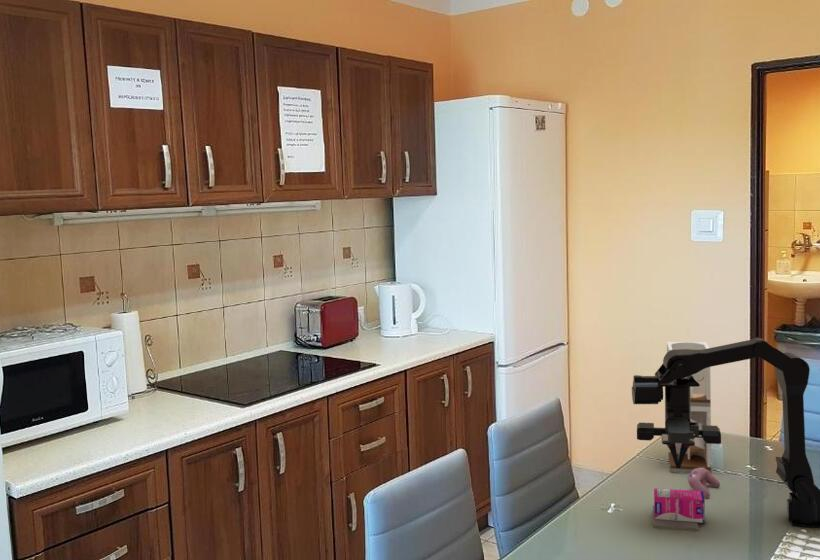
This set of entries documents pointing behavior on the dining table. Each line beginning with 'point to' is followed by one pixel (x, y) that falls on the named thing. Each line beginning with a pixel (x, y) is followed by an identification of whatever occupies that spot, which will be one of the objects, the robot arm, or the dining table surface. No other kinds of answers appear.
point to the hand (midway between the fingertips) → (678, 467)
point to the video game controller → (702, 480)
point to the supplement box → (679, 505)
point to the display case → (696, 415)
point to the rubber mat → (674, 524)
